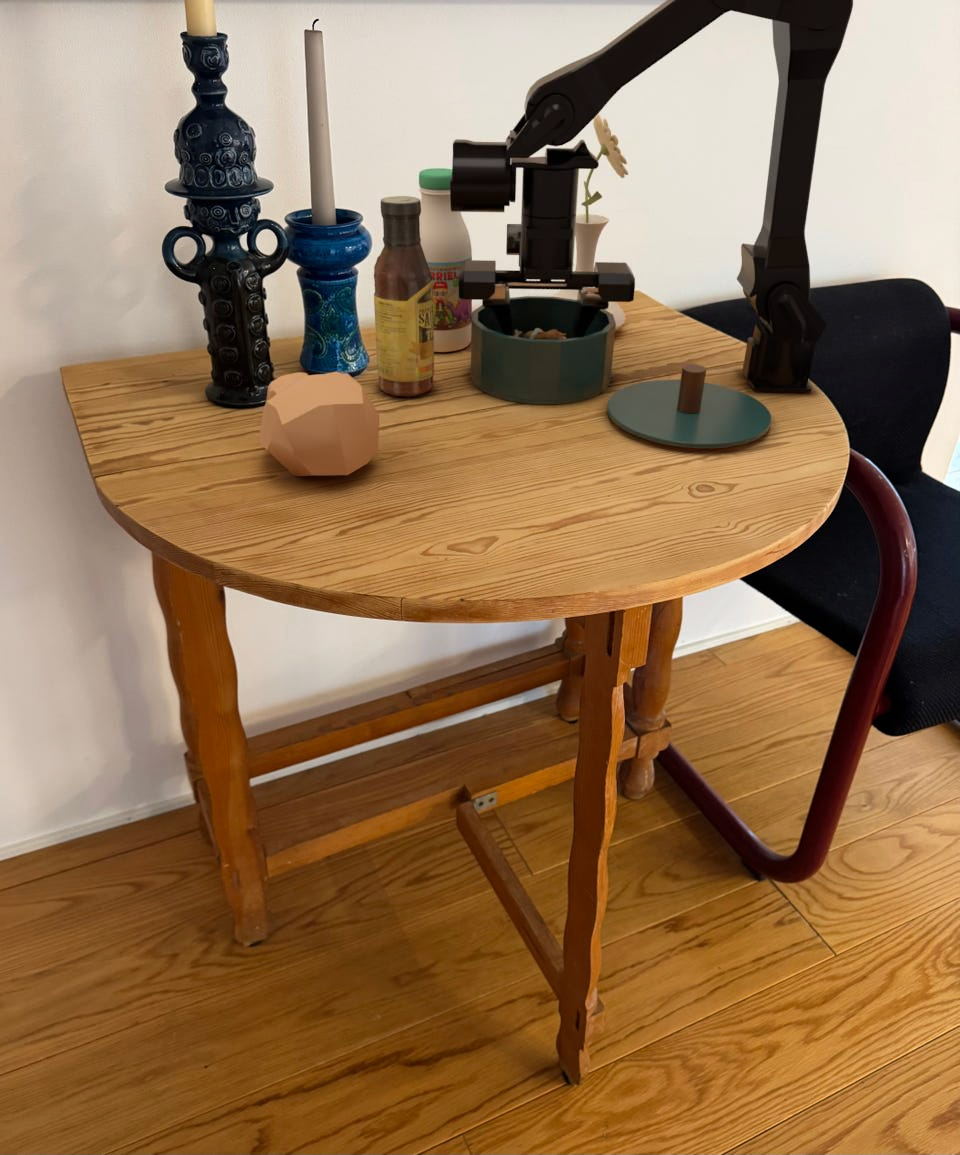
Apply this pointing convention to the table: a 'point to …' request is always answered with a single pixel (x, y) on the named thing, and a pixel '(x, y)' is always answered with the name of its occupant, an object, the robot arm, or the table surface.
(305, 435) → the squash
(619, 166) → the flower in vase
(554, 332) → the pastry
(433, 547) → the table surface
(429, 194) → the milk bottle
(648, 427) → the lid
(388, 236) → the sauce bottle
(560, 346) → the pot
